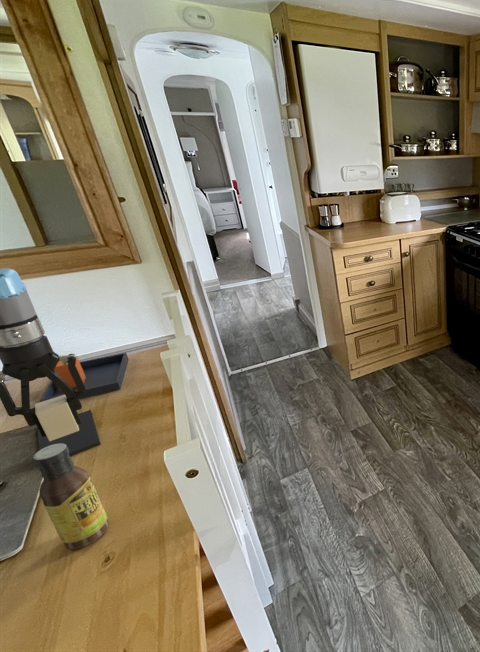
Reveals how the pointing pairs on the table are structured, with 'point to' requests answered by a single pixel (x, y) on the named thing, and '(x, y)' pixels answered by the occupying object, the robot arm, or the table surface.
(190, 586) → the table surface
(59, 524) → the sauce bottle
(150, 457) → the table surface
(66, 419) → the cream block
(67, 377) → the rust block
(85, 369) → the tray
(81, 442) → the mat
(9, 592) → the table surface
